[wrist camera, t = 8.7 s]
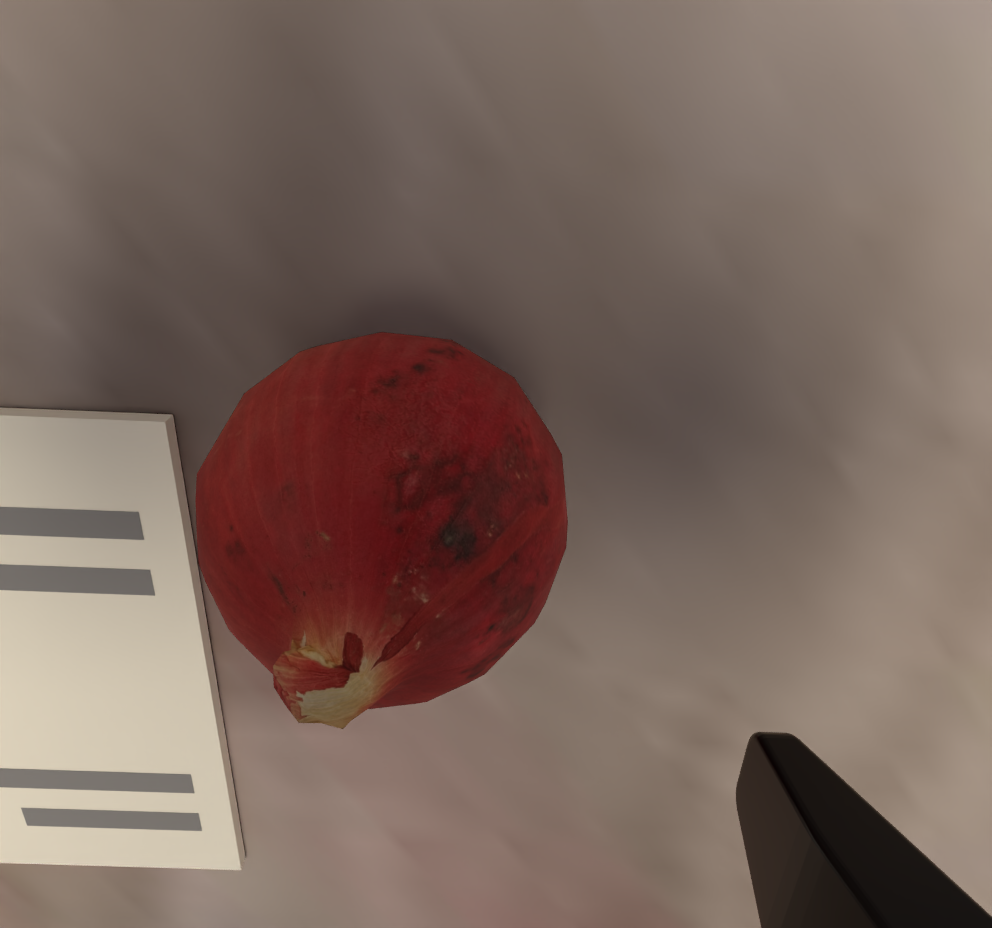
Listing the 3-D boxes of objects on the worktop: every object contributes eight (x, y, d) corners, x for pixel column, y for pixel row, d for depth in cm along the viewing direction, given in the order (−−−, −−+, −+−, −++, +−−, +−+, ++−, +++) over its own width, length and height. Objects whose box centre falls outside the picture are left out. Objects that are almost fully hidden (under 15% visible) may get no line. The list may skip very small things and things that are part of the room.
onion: (448, 224, 14) (391, 358, 6) (602, 458, 16) (690, 757, 8) (215, 387, 15) (-47, 647, 8) (385, 581, 17) (303, 927, 10)
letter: (245, 856, 21) (240, 870, 21) (-101, 846, 21) (-112, 860, 21) (172, 414, 15) (164, 422, 15) (-317, 394, 15) (-337, 402, 15)
